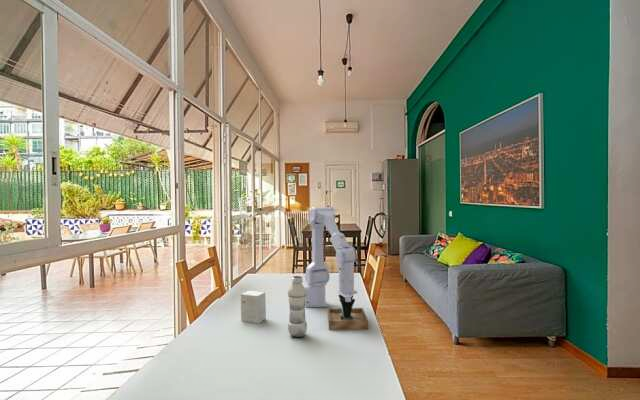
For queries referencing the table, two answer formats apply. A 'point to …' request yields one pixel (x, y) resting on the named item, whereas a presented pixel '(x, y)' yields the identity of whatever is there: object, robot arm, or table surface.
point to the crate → (356, 320)
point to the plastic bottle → (297, 308)
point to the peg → (344, 317)
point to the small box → (253, 306)
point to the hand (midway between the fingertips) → (346, 315)
